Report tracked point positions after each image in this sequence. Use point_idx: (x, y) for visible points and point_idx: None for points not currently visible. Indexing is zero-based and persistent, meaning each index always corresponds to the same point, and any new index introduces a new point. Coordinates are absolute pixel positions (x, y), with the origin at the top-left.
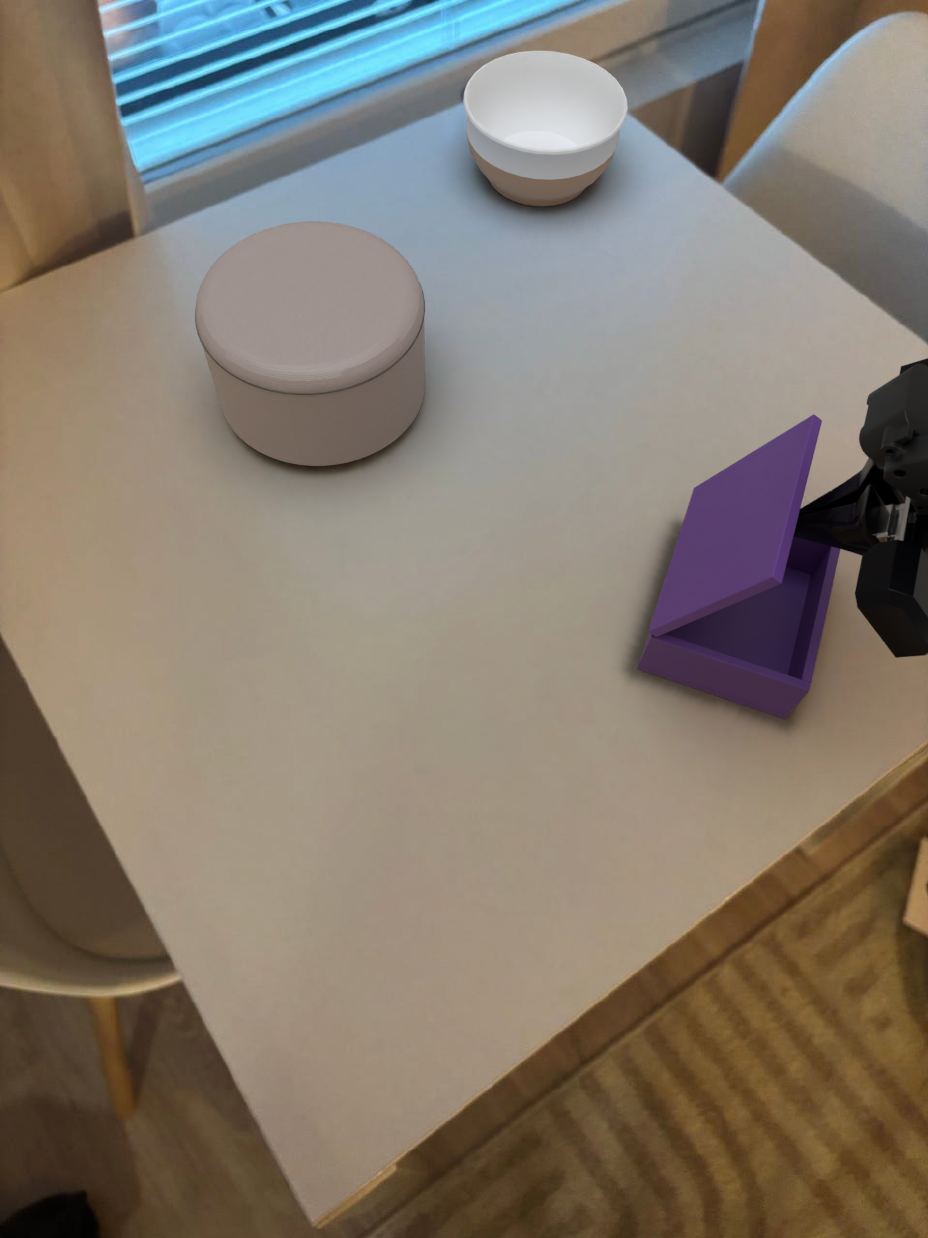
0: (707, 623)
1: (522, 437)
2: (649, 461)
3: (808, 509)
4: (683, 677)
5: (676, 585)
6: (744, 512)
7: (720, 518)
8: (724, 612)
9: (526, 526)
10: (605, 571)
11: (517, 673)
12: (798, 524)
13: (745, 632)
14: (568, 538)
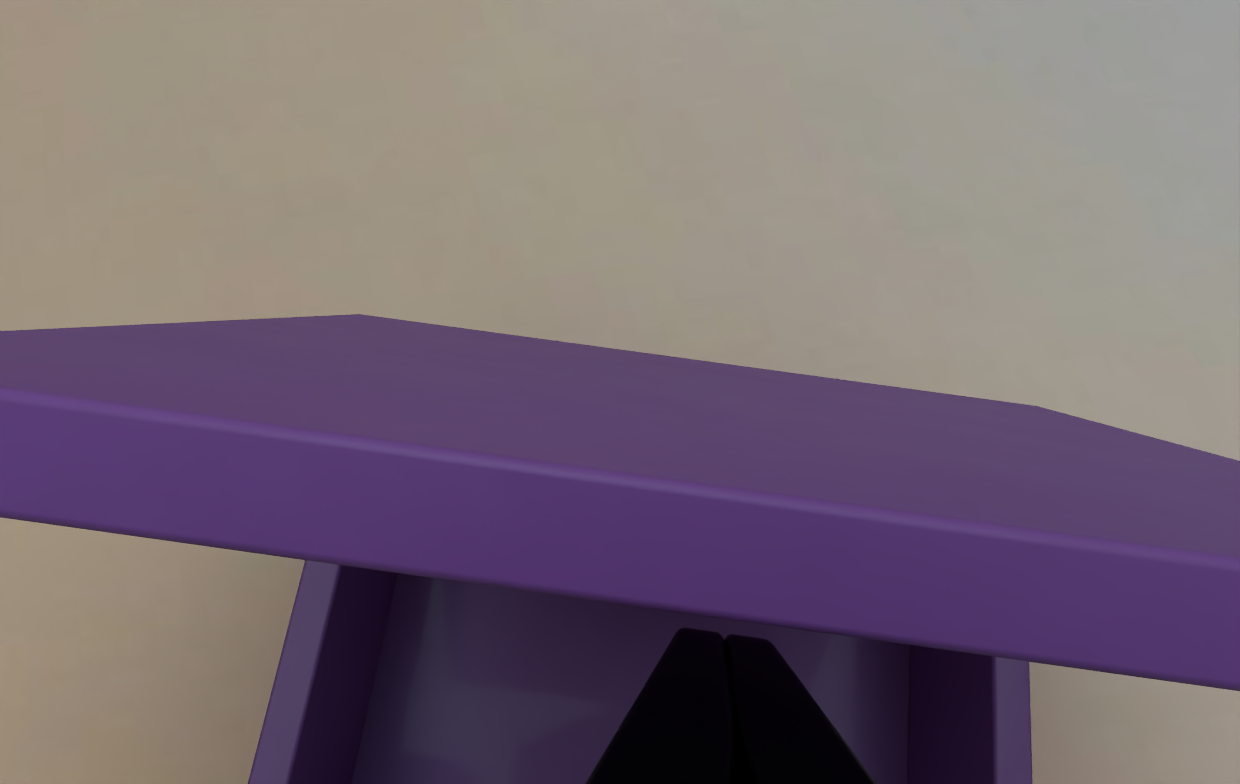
0: (593, 608)
1: (1074, 43)
2: (1152, 372)
3: (784, 760)
4: None
5: (508, 340)
6: (778, 410)
7: (804, 394)
8: (649, 661)
9: (794, 93)
10: (714, 300)
11: (348, 137)
12: (640, 697)
13: (590, 745)
14: (792, 194)
